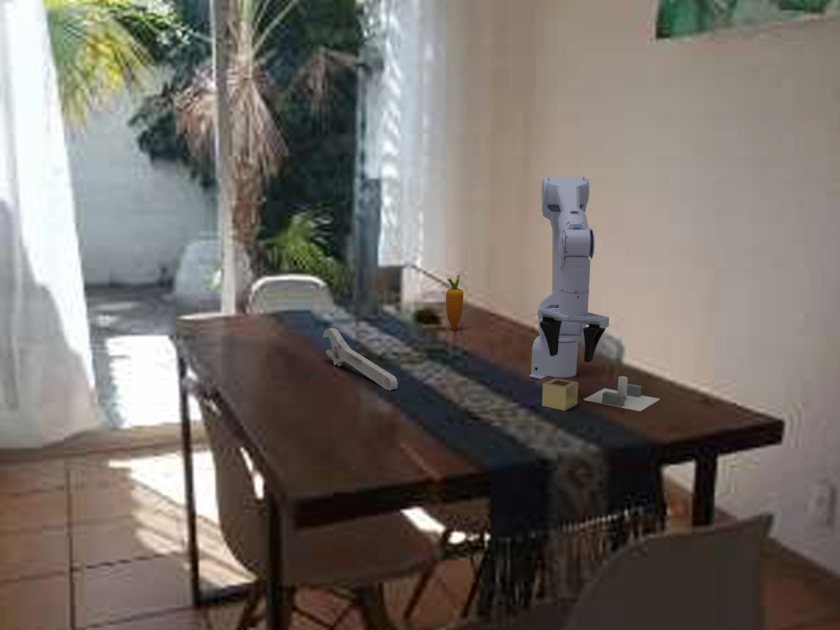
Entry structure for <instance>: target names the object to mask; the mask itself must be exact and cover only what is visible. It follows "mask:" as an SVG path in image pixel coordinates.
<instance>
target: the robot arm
mask: <svg viewBox="0 0 840 630" xmlns="http://www.w3.org/2000/svg"><path fill="white" fill-rule="evenodd" d="M589 199H590V182H589V179H588V178H587V176H583V177H581V176H580V177H579V176H578V177H574V176H548V175H545V176H544V177H543V178H542V181H541V212H542V217H543V218H545V219H548V220H549V222H550V226H551V230H552V242H551V243H552V245H551V246H552V248H551V249H552V253H551V254H552V257H551V258H552V260H551V261H552V263H551V264H552V266H551V267H552V269H551V270H552V272H551V275H552V276H551V277H552V278H551V279H552V280H551V293H550V294H549V295H547V296H546V297H545V298H544V299H542V300H541V302H540V303H539V308H538V310H537V319H538V333H539V335H538V336H537V337H536V338H534V341H533V344H532V349H531V366H530V367H531V369H530V371H531V372H530V373H531V374H529V378H533V379H538V380H541V379H544V378H546V377H547V376H548V377H554V378H571V377H575V376H577V368H578V367H577V365H578V364H577V363H578V345H579V343H578V342H579V341H580V338H583V337H584V353H583V354H584V356H583V357H584V361H583V362H584V363H590V362H592V361H593V358H594V354H595V353H596V348H597V346H598V343H599V341H600V339H601V337H603V336H602V335H603V334H604V333H605V331H606V329H607V328H609V326H610V316H605V315H601V314H596V313H593V312H589V299H590V298H589V295H590V277H591V260H592V259H593V258H594V254H595V246H596V245H595V241H596V239H595V233H594V229H593V228H591V227H589V225H588V219H587V215H586V211H587V207H588V203H589Z"/></svg>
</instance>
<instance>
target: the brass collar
mask: <svg viewBox="0 0 840 630" xmlns="http://www.w3.org/2000/svg"><path fill="white" fill-rule="evenodd" d="M578 390H579V382H577V381H573V380H569V379H568V380H566V379H563V378H562V379H561V378H558V377H554V378H553V379H550V380H548V381H546V382H544V383H542V395H541V396H542V398H541V406H542V407H547V408H551V409H556V410H559V411H564V412H565V411H568V410H569V409H571V408H574V407H575V406H577V405H578V399H579V398H578V393H579V391H578Z"/></svg>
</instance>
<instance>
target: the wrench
mask: <svg viewBox="0 0 840 630" xmlns="http://www.w3.org/2000/svg"><path fill="white" fill-rule="evenodd" d="M322 338H328V339H329V342H330V344H331V349H326V350H325V353H326V354H327V356H328V358H329V359H330V360H332V361H333V366H334V365H337V367H341V366H342V363H343V362H346V363H347V364H348V365H350V366H351V367H353V368H355V369H356V370H357V371H359V372H360V373H361V374H362V375H364V376H366V377H368V378H369V379H370V380H371V381H374V383H376V384H378V385H379V386H380V387H382V388H383V389H385V390H387V389H388V390H387V391H393V390H394V389H395V390H397V389H398V386H399V385H398V384H399V383H398V379H397V378H396V376H395V375H393V374H391V373H390V372H389V371H387V370H386V369H384V368H382V367H380V366H379V365H377V364H376V363H374V362H373V361H370V360H369V359H368V358H365V357H364V356H363V355H361V354H360V353H358V352H357V351H355V350H353V349H351V347H350V345H348V343H347V342H346V341H345V340H344V338H343V336H342V335H341V333H340V331H339V330H338V329H337V328H335V327H331V328H326V329H325V330H324V331H323V334H322ZM395 390H394V391H395Z"/></svg>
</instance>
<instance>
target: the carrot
mask: <svg viewBox="0 0 840 630" xmlns="http://www.w3.org/2000/svg"><path fill="white" fill-rule="evenodd" d="M460 279H461V275H459V274H457V275H456V280H455V281H453V280H452V278H451V277H448V278H447V279H446V280H447V282H448V283H449V284H450V286H451V288H449V289H447V290H446V293H445V309H446V315H447V320H448V322H449V325H450V327H451V329H452V330H453V331H456V329H457V327H458V326H459V324H460V321H461V318H462V315H463V314H462V313H463V307H464V290H463V289H461V288H459V283H460Z"/></svg>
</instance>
